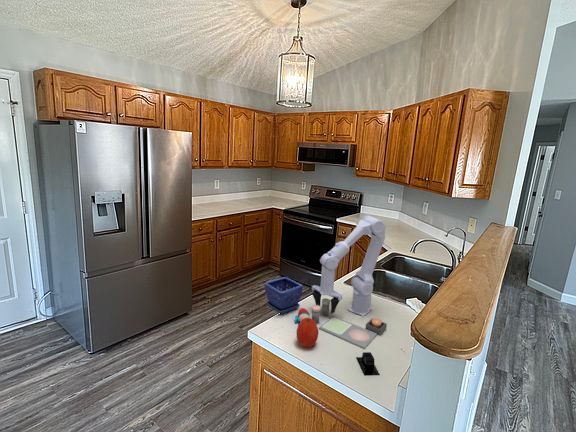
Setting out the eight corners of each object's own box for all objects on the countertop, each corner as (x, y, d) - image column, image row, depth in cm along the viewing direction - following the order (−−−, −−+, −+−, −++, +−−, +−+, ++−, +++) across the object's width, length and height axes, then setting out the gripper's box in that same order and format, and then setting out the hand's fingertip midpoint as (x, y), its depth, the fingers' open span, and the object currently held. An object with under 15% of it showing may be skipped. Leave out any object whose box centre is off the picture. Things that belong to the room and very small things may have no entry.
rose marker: (314, 318, 133) (315, 304, 132) (321, 321, 131) (322, 306, 130) (309, 322, 131) (310, 307, 129) (316, 325, 129) (317, 309, 127)
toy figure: (317, 338, 122) (310, 313, 136) (317, 328, 121) (310, 304, 134) (298, 340, 122) (293, 315, 135) (298, 330, 120) (293, 305, 134)
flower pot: (262, 306, 143) (263, 282, 140) (284, 298, 151) (285, 275, 148) (280, 318, 133) (281, 293, 130) (302, 309, 141) (304, 285, 139)
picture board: (333, 317, 135) (333, 315, 135) (377, 335, 123) (377, 333, 123) (318, 328, 126) (318, 327, 126) (364, 349, 114) (364, 347, 114)
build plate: (352, 355, 111) (353, 344, 110) (371, 355, 112) (372, 344, 111) (363, 381, 99) (364, 368, 98) (385, 380, 99) (386, 368, 98)
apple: (312, 336, 121) (314, 311, 119) (321, 348, 113) (323, 322, 111) (293, 339, 118) (294, 313, 116) (300, 352, 111) (301, 325, 109)
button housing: (371, 323, 132) (372, 318, 131) (386, 329, 128) (386, 323, 127) (365, 329, 127) (365, 324, 126) (380, 335, 123) (380, 330, 122)
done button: (373, 321, 129) (374, 317, 129) (382, 324, 127) (382, 320, 127) (370, 325, 126) (370, 320, 126) (378, 328, 124) (379, 324, 124)
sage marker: (323, 311, 140) (324, 297, 138) (330, 314, 138) (331, 300, 136) (319, 314, 137) (320, 300, 135) (326, 317, 135) (327, 302, 133)
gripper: (308, 279, 135) (306, 307, 138) (337, 289, 126) (335, 319, 129) (317, 274, 141) (315, 301, 143) (345, 283, 132) (343, 312, 135)
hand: (325, 309), depth 137 cm, fingers open, 7 cm apart
